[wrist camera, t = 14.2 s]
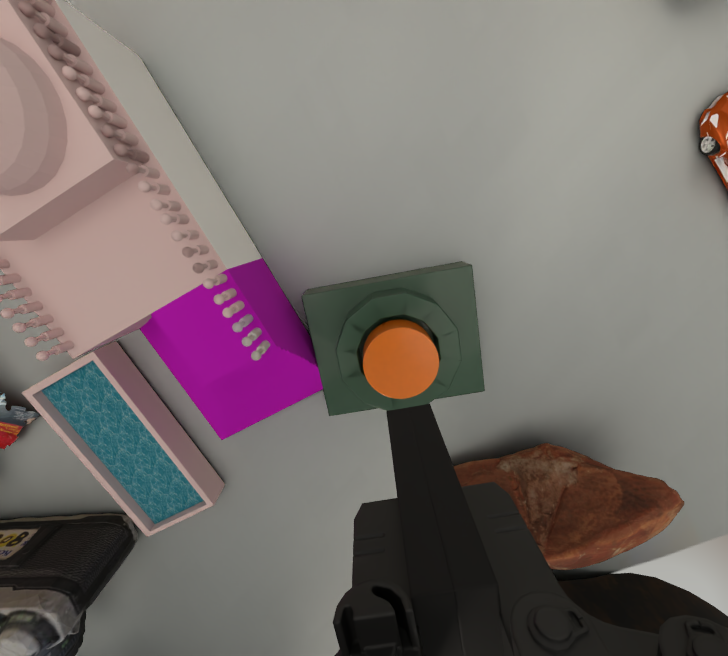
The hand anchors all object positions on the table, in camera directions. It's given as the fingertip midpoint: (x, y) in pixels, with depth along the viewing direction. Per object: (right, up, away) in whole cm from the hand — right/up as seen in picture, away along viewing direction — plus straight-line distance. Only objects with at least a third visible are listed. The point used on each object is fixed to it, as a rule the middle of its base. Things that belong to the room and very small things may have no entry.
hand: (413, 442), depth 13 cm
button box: (0, +4, +12) cm, 12 cm away
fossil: (+13, -11, +10) cm, 20 cm away
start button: (0, +3, +8) cm, 8 cm away
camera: (-27, -14, +17) cm, 35 cm away
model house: (-16, +4, +11) cm, 20 cm away
